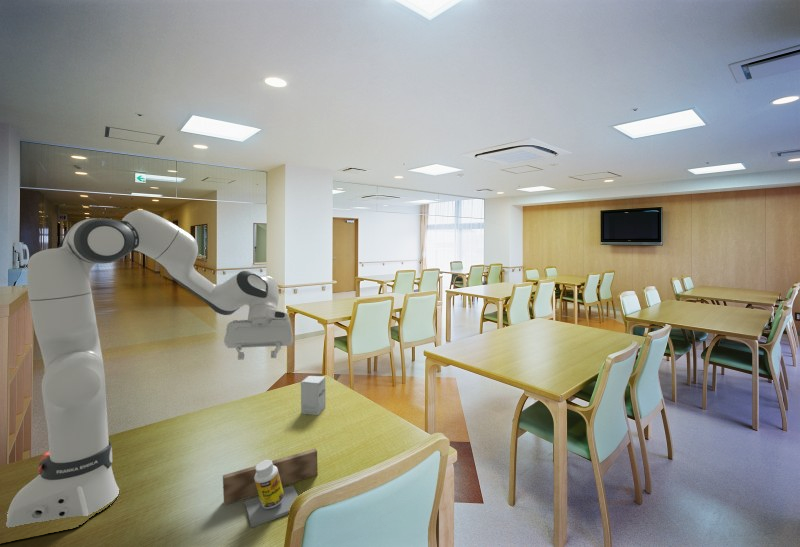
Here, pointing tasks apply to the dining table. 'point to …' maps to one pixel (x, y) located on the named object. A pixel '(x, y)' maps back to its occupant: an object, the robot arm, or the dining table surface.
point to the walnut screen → (288, 468)
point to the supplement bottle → (268, 484)
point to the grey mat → (264, 515)
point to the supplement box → (313, 395)
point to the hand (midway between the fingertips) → (257, 358)
